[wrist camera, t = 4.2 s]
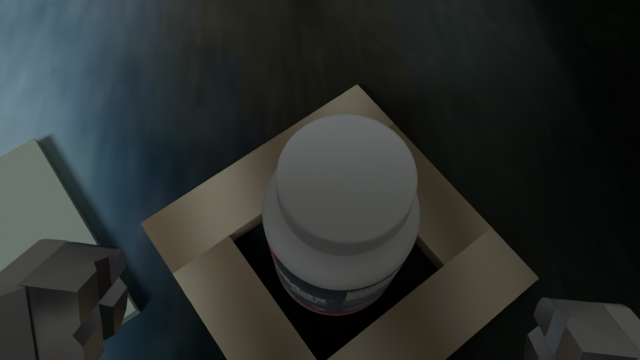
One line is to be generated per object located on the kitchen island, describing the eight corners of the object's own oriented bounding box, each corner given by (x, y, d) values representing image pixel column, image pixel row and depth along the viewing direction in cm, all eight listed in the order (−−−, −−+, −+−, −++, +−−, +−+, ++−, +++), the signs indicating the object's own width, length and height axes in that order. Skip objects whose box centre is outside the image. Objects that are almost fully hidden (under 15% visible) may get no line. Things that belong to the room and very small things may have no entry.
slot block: (305, 477, 18) (304, 481, 17) (147, 230, 22) (140, 223, 21) (529, 283, 21) (539, 278, 20) (355, 95, 25) (357, 84, 24)
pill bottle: (252, 240, 22) (215, 148, 14) (347, 181, 23) (364, 63, 15) (319, 343, 20) (321, 306, 12) (418, 272, 21) (480, 196, 13)
